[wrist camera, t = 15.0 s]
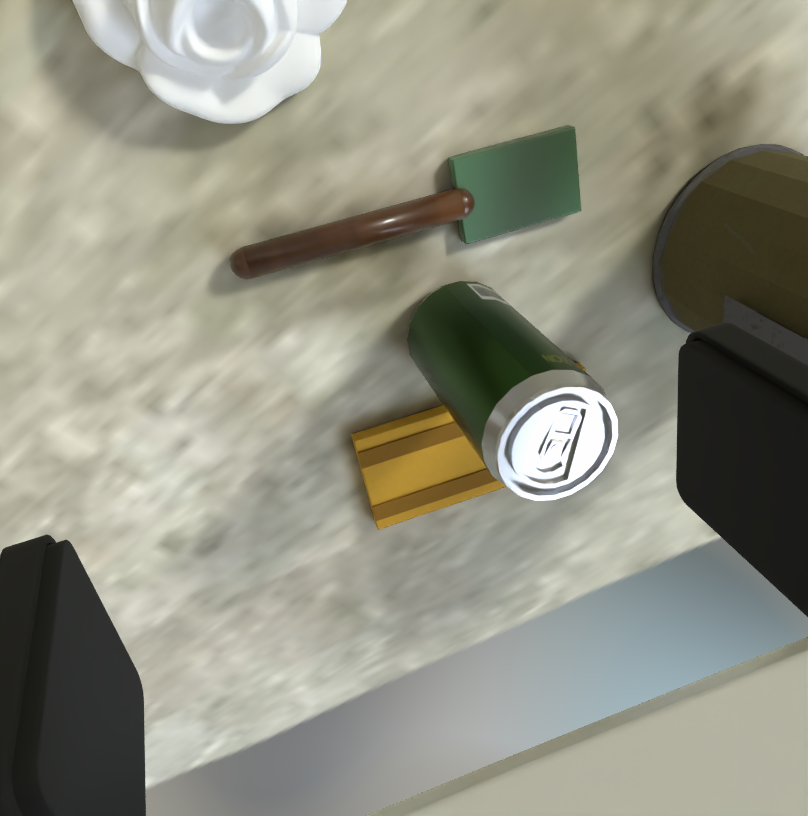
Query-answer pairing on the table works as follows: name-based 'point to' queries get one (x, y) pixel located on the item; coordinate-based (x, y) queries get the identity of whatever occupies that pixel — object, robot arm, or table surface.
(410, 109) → the table surface
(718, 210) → the canister
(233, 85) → the rose
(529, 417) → the beer can
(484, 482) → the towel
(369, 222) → the spatula
